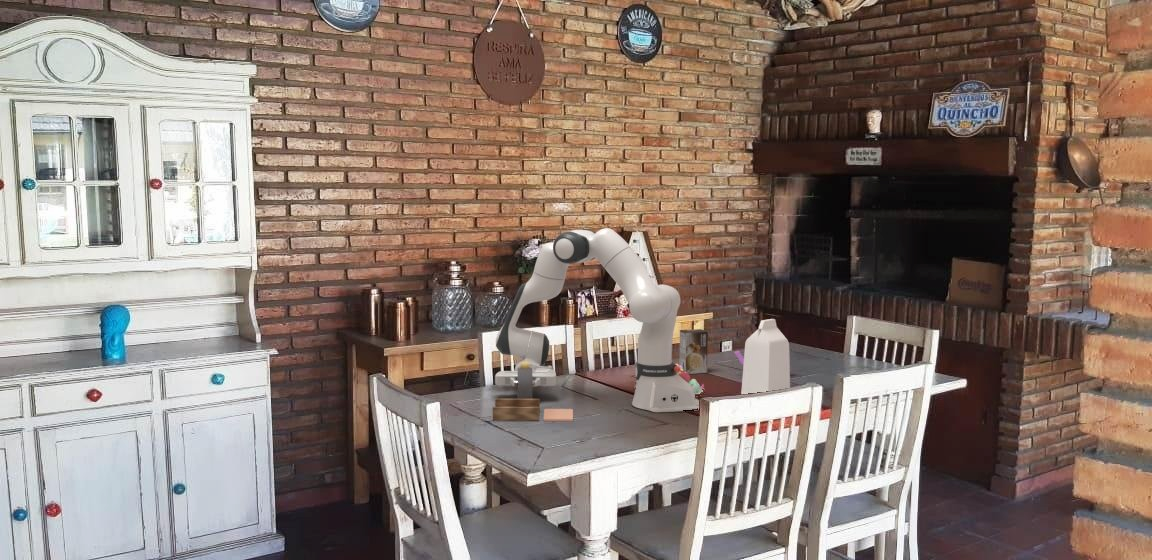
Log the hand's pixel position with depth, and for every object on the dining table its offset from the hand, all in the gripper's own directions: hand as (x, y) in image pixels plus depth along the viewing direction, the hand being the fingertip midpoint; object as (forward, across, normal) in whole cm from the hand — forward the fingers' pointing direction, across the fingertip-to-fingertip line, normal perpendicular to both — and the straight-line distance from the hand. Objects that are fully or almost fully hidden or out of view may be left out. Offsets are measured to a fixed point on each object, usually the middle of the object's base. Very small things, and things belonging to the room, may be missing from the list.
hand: (524, 384), depth 290 cm
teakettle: (-46, +87, +7) cm, 99 cm away
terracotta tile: (+13, +11, +7) cm, 18 cm away
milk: (-16, +82, +7) cm, 84 cm away
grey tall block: (-1, 0, +7) cm, 7 cm away
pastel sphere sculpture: (-23, +50, +8) cm, 55 cm away
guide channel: (+13, -2, +7) cm, 15 cm away
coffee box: (-51, +62, +7) cm, 81 cm away
